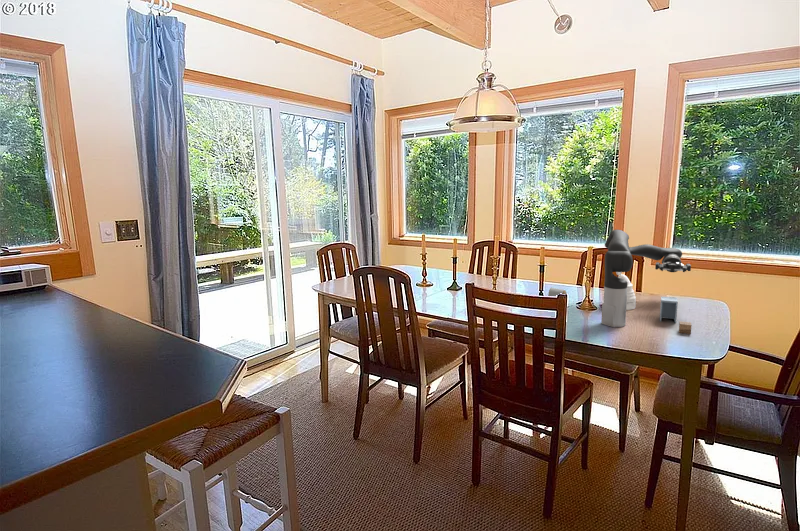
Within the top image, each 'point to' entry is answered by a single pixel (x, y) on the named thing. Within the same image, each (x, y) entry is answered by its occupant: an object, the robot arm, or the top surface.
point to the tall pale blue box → (668, 308)
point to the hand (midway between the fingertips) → (673, 269)
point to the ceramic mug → (556, 292)
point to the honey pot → (629, 293)
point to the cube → (685, 327)
